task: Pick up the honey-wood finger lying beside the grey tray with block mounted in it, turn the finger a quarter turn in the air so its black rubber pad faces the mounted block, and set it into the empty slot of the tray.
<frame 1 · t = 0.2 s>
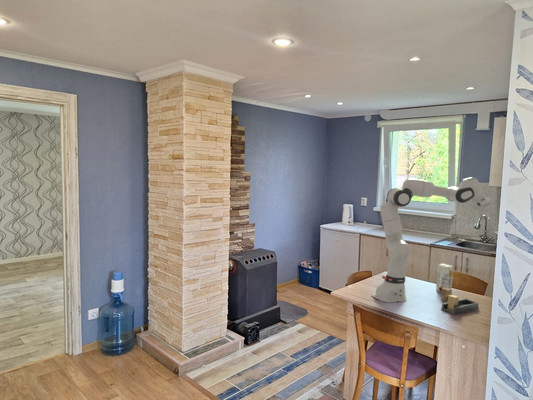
hand: (487, 219, 235), 54 cm above the table, tool tilted 30°, fingers open, 8 cm apart
grey tray with block: (459, 309, 223), on the table
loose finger: (446, 300, 237), on the table
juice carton: (443, 291, 255), on the table
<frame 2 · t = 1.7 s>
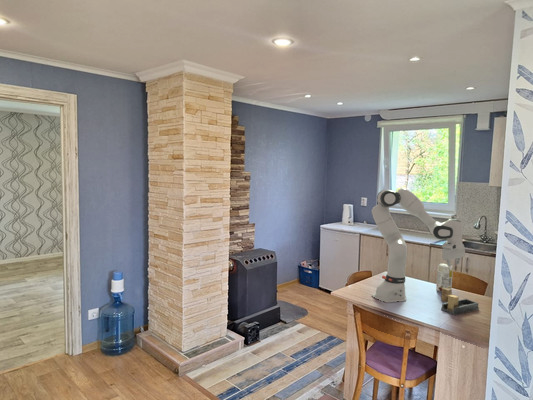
hand: (453, 265, 236), 24 cm above the table, tool pointing down, fingers open, 8 cm apart
nothing on the table moved.
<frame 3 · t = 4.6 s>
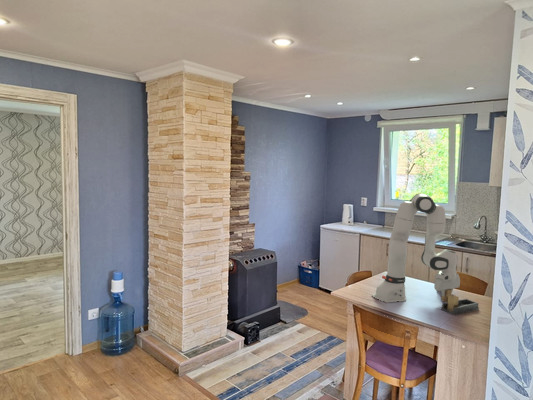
hand: (446, 295, 237), 4 cm above the table, tool pointing down, fingers closed on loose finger, 4 cm apart
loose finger: (446, 300, 237), on the table, touching gripper
everything else where it was.
when the fingers open (6 cm above the table, at t = 9.2 s): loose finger drops 1 cm, resting on grey tray with block.
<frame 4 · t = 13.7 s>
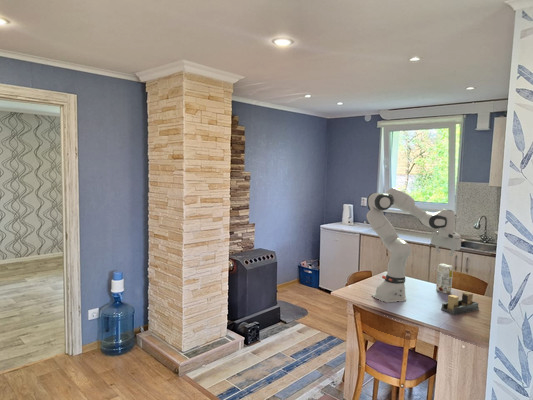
hand: (444, 253, 243), 29 cm above the table, tool pointing down, fingers open, 8 cm apart
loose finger: (466, 305, 226), point 2 cm above the table, touching grey tray with block
everything else where it was.
at the end: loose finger 0.2 cm from the target spot on the grey tray with block, point 1.6 cm above the grey tray with block's base; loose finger tilted 0°; the gripper is holding nothing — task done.
